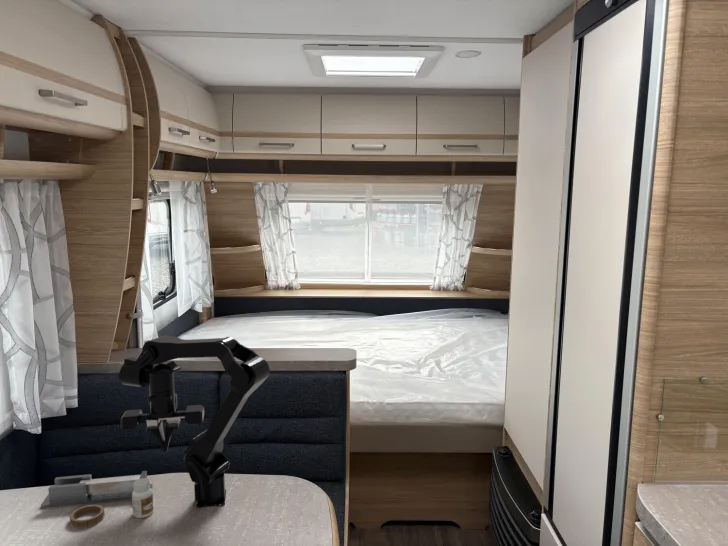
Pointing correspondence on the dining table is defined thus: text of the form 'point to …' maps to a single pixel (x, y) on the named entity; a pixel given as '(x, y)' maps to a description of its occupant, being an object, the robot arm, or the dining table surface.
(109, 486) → the grey long bar
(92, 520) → the bottle collar
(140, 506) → the pill bottle
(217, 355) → the robot arm
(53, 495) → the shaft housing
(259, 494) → the dining table surface
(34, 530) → the dining table surface
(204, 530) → the dining table surface
